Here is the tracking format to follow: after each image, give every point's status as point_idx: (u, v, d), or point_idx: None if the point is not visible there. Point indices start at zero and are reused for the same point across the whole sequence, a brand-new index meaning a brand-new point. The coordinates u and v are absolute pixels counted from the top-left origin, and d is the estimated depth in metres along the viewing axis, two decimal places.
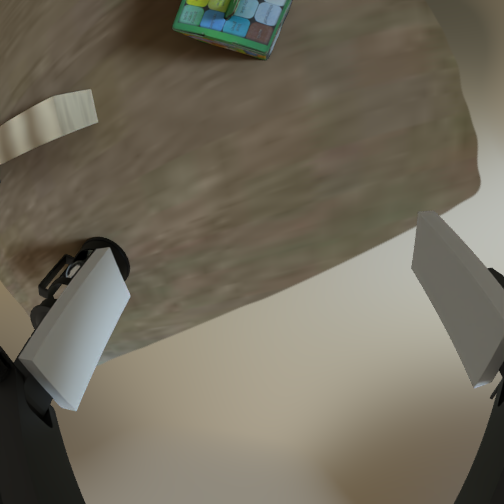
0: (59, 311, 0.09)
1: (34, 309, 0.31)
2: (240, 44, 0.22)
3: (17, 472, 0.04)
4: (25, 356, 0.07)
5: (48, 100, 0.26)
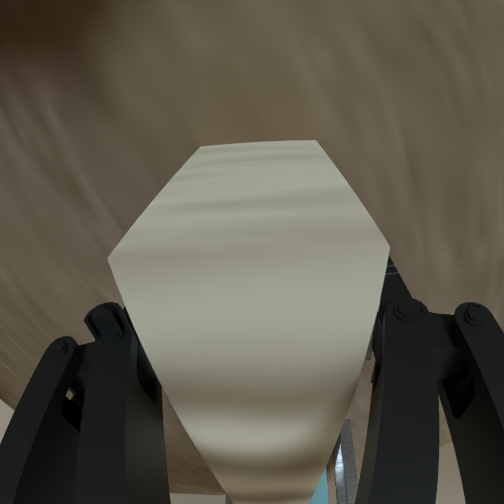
0: None
1: None
2: None
3: (108, 458, 0.05)
4: None
5: (129, 291, 0.06)
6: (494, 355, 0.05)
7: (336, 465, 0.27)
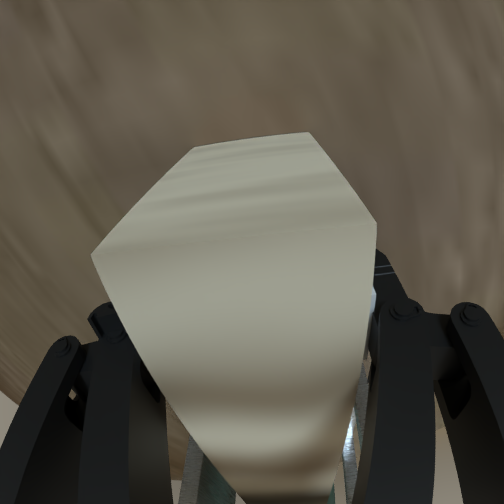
0: None
1: None
2: None
3: (111, 457, 0.05)
4: None
5: (114, 288, 0.06)
6: (490, 355, 0.05)
7: None
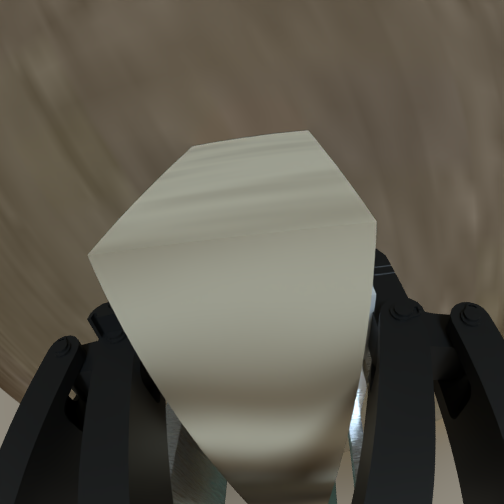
0: None
1: None
2: None
3: (111, 458, 0.05)
4: None
5: (112, 288, 0.05)
6: (490, 355, 0.05)
7: None
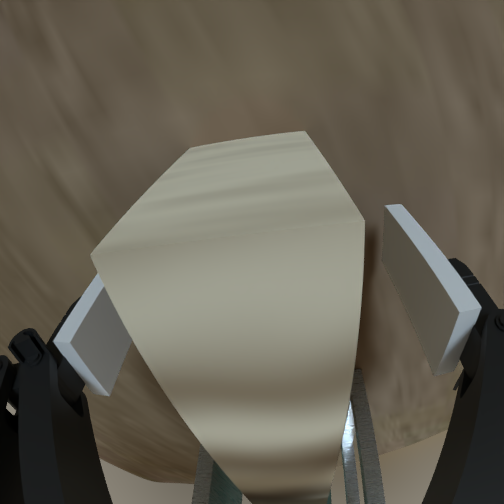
0: (94, 294, 0.09)
1: None
2: None
3: (43, 464, 0.04)
4: (61, 339, 0.08)
5: (113, 286, 0.06)
6: None
7: (344, 438, 0.23)
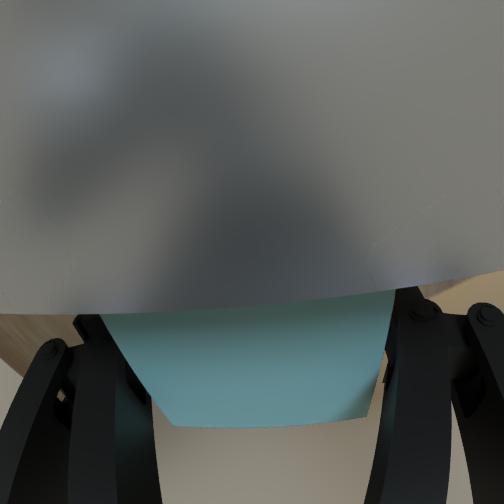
0: None
1: None
2: None
3: (98, 457, 0.05)
4: None
5: None
6: None
7: None
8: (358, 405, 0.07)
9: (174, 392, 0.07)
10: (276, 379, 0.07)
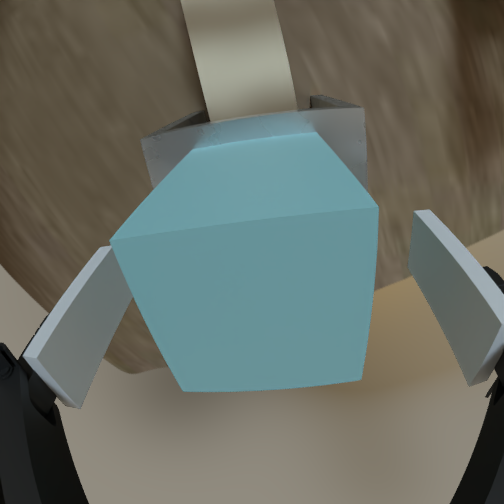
0: (63, 309, 0.09)
1: None
2: None
3: (20, 470, 0.04)
4: (29, 354, 0.07)
5: None
6: None
7: None
8: (352, 366, 0.09)
9: (186, 353, 0.09)
10: (278, 336, 0.08)
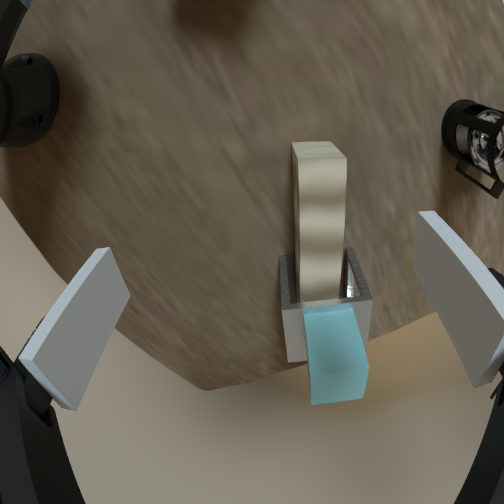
0: (59, 311, 0.09)
1: None
2: None
3: (17, 472, 0.04)
4: (25, 356, 0.07)
5: (300, 166, 0.30)
6: None
7: None
8: (360, 394, 0.30)
9: (318, 394, 0.30)
10: (343, 389, 0.30)
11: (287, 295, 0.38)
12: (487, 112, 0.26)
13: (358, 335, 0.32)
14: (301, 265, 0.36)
